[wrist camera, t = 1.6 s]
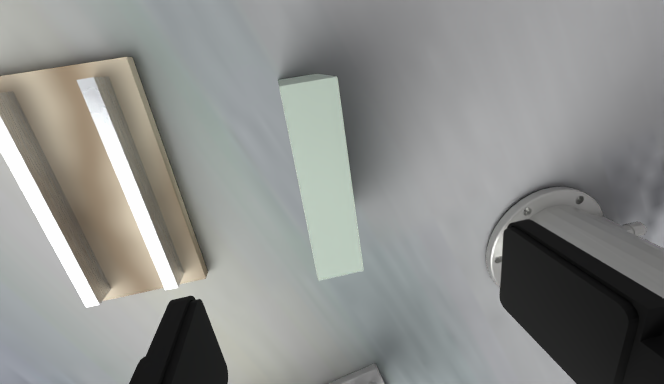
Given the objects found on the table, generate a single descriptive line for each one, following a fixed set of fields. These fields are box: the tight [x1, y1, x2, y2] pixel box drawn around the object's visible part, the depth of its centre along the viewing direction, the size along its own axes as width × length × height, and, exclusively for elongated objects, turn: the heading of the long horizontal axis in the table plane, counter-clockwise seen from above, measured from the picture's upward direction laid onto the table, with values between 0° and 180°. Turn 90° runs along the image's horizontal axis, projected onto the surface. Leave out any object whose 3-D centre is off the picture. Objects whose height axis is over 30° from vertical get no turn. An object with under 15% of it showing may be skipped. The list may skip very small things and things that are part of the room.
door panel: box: [278, 74, 364, 281], centre depth 23 cm, size 3×12×9 cm, turn 9°
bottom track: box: [0, 57, 208, 308], centre depth 24 cm, size 10×18×3 cm, turn 9°
